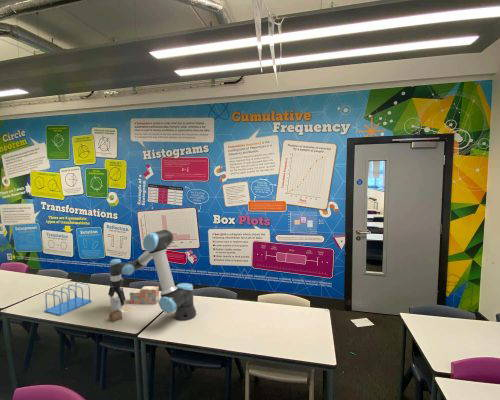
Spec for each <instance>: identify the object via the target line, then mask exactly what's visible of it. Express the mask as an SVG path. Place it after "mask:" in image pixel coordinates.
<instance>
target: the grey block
mask: <svg viewBox="0 0 500 400" xmlns="http://www.w3.org/2000/svg"><path fill="white" fill-rule="evenodd" d="M110 309H111V310H110V311H114V310H117V309H118V310H120V299H119V297H118V296H117V297H114V299H111V305H110Z"/></svg>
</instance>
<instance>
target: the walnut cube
mask: <svg viewBox="0 0 500 400" xmlns="http://www.w3.org/2000/svg"><path fill="white" fill-rule="evenodd" d="M122 319H123V312H122V311H120V310H118V309H117V310H114V311H113V310H111V311H109V312H108V321H111V322H112V323H116V322H118V321H121V320H122Z"/></svg>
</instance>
